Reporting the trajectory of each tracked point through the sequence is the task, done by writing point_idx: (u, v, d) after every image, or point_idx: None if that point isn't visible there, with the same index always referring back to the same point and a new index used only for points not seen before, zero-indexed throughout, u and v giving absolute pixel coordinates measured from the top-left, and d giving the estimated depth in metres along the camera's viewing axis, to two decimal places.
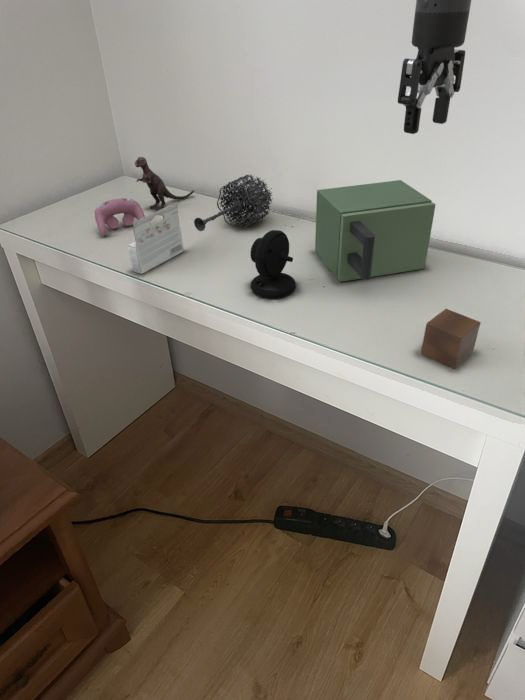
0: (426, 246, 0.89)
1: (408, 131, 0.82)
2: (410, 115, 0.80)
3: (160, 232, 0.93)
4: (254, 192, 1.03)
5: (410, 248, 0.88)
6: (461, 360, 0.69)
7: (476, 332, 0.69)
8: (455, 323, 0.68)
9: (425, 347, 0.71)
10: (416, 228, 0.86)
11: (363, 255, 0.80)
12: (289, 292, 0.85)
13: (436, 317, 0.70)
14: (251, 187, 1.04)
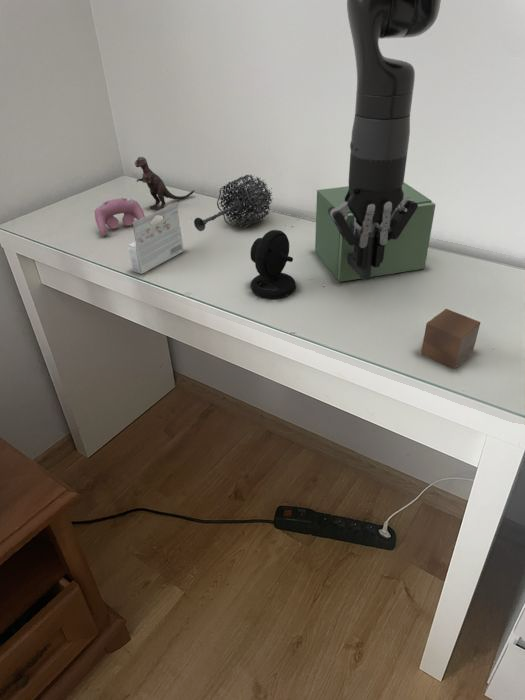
0: (426, 246, 0.89)
1: (358, 265, 0.81)
2: (356, 252, 0.79)
3: (160, 232, 0.93)
4: (254, 192, 1.03)
5: (410, 248, 0.88)
6: (461, 360, 0.69)
7: (476, 332, 0.69)
8: (455, 323, 0.68)
9: (425, 347, 0.71)
10: (416, 228, 0.86)
11: None
12: (289, 292, 0.85)
13: (436, 317, 0.70)
14: (251, 187, 1.04)
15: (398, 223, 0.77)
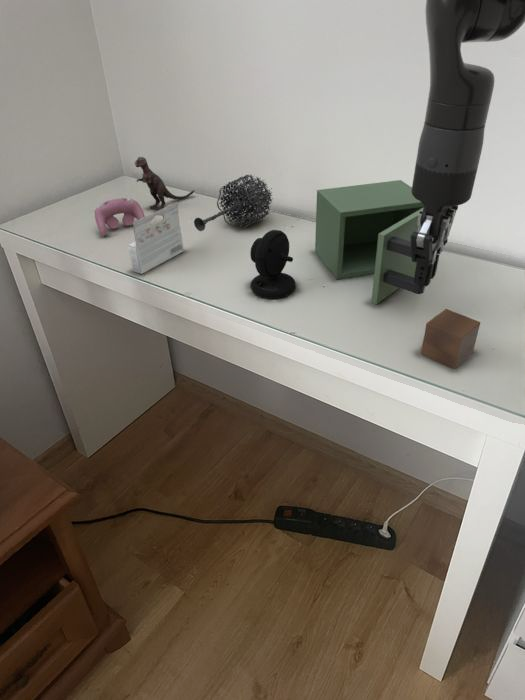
0: None
1: (419, 283, 0.76)
2: (423, 270, 0.74)
3: (160, 232, 0.93)
4: (254, 192, 1.03)
5: None
6: (461, 360, 0.69)
7: (476, 332, 0.69)
8: (455, 323, 0.68)
9: (425, 347, 0.71)
10: None
11: None
12: (289, 292, 0.85)
13: (436, 317, 0.70)
14: (251, 187, 1.04)
15: None
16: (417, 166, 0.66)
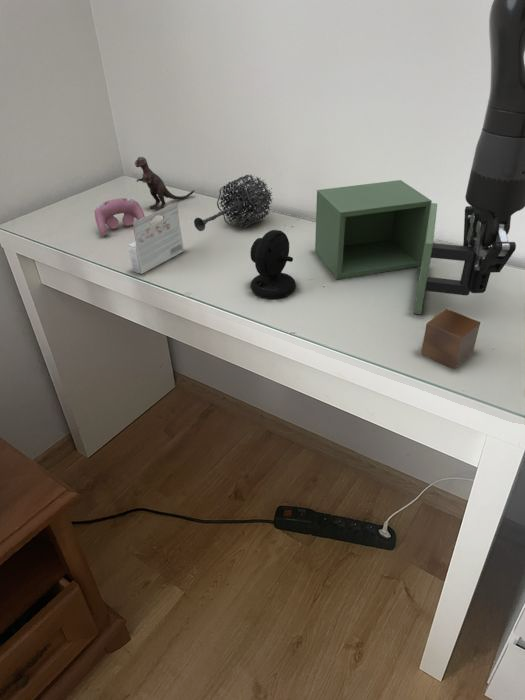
0: None
1: (476, 291, 0.75)
2: (484, 278, 0.73)
3: (160, 232, 0.93)
4: (254, 192, 1.03)
5: None
6: (461, 360, 0.69)
7: (476, 332, 0.69)
8: (455, 323, 0.68)
9: (425, 347, 0.71)
10: None
11: (470, 271, 0.75)
12: (289, 292, 0.85)
13: (436, 317, 0.70)
14: (251, 187, 1.04)
15: None
16: (484, 178, 0.65)
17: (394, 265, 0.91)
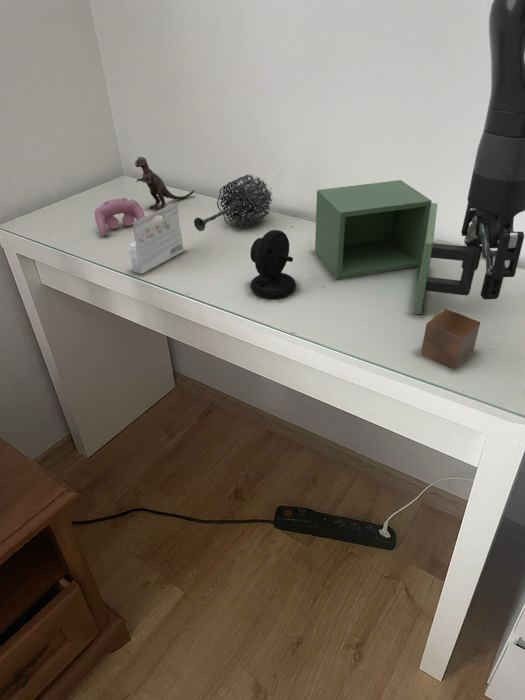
0: None
1: (488, 297, 0.72)
2: (497, 283, 0.70)
3: (160, 232, 0.93)
4: (254, 192, 1.03)
5: None
6: (461, 360, 0.69)
7: (476, 332, 0.69)
8: (455, 323, 0.68)
9: (425, 347, 0.71)
10: None
11: (470, 271, 0.75)
12: (289, 292, 0.85)
13: (436, 317, 0.70)
14: (251, 187, 1.04)
15: None
16: (486, 179, 0.65)
17: (394, 265, 0.91)
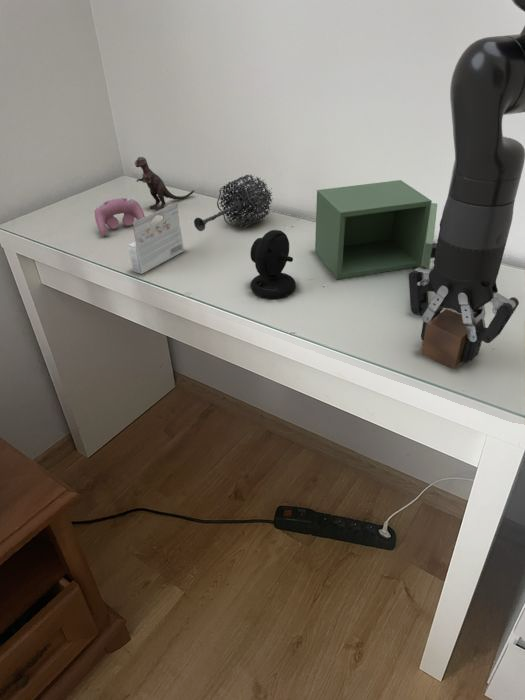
0: None
1: (468, 360, 0.69)
2: (478, 345, 0.68)
3: (160, 232, 0.93)
4: (254, 192, 1.03)
5: None
6: None
7: None
8: (455, 323, 0.68)
9: (425, 347, 0.71)
10: None
11: None
12: (289, 292, 0.85)
13: (436, 317, 0.70)
14: (251, 187, 1.04)
15: (427, 292, 0.71)
16: (478, 251, 0.59)
17: (394, 265, 0.91)
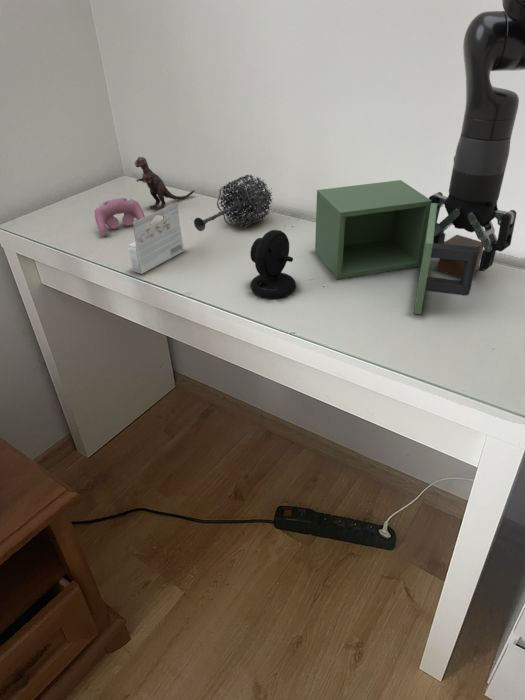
0: None
1: (484, 269, 0.87)
2: (493, 256, 0.85)
3: (160, 232, 0.93)
4: (254, 192, 1.03)
5: None
6: None
7: (481, 251, 0.88)
8: (464, 243, 0.88)
9: (440, 264, 0.90)
10: None
11: (470, 271, 0.75)
12: (289, 292, 0.85)
13: (449, 240, 0.89)
14: (251, 187, 1.04)
15: (438, 214, 0.90)
16: (483, 177, 0.78)
17: (394, 265, 0.91)
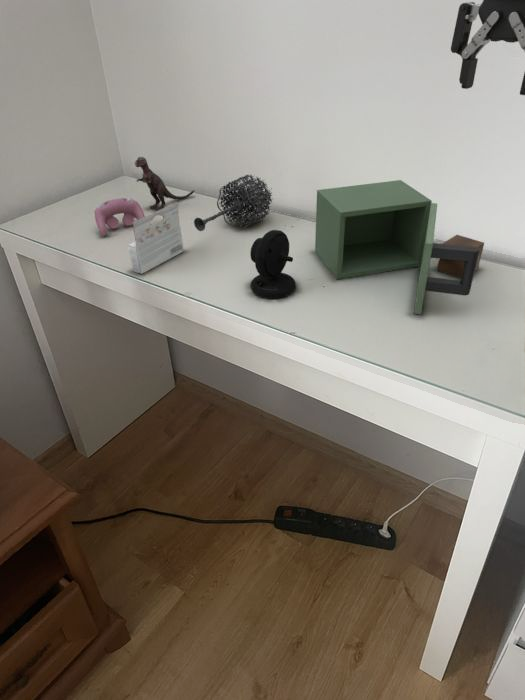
0: None
1: None
2: None
3: (160, 232, 0.93)
4: (254, 192, 1.03)
5: None
6: None
7: (481, 251, 0.88)
8: (464, 243, 0.88)
9: (440, 264, 0.90)
10: None
11: (470, 271, 0.75)
12: (289, 292, 0.85)
13: (449, 240, 0.89)
14: (251, 187, 1.04)
15: (469, 33, 0.75)
16: None
17: (394, 265, 0.91)
